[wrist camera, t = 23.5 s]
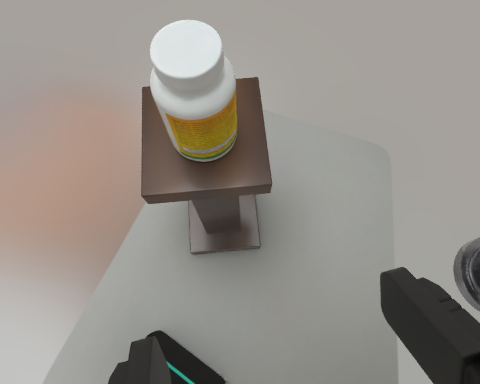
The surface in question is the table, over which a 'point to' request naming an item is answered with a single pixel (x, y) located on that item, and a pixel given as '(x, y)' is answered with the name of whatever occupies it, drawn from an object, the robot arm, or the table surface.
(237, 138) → the pedestal top
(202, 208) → the pedestal column
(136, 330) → the table surface
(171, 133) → the supplement bottle
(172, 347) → the virtual reality headset
